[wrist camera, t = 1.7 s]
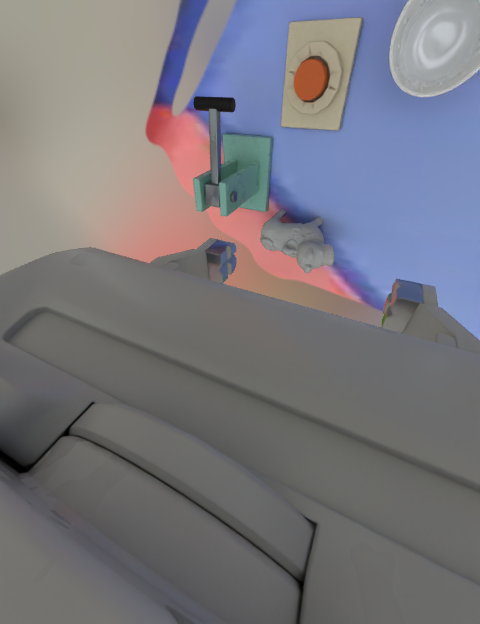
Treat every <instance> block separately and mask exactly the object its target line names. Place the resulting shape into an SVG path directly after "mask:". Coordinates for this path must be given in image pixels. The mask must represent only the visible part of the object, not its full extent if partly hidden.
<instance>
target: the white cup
mask: <svg viewBox="0 0 480 624" xmlns="http://www.w3.org/2000/svg"><path fill="white" fill-rule="evenodd" d="M389 64H390V70H391V73H392V76H393V79H394V81H395V82H396V84H397V85H398V86H399V87H400V88H401V89H402V90H403V91H404V92H406V93H408V94H410V95H412V96H416V97H432V96H437V95H440V94H443V93H446V92H448V91H450V90H452V89H454V88H456V87H458V86H459V85H461V84H462V83H464V82H465V81H466V80H468V79H469V78H470V77H472V76H473V75H474V74H475V73H476V72H477V71H478V70H479V69H480V0H408V2H407V4H406V5H405V7H404V9H403V10H402V12H401V14H400V16H399V18H398V21H397V23H396V26H395V28H394V31H393V35H392V39H391V43H390V51H389Z"/></svg>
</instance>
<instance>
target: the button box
mask: <svg viewBox="0 0 480 624" xmlns="http://www.w3.org/2000/svg"><path fill="white" fill-rule="evenodd" d="M362 23H363V18H362V17H358V18H343V19H328V20H313V21H298V22H290V23H289V34H288V46H287V58H286V70H285V82H284V94H283V106H282V118H281V127H292V128H307V129H322V130H337V131H338V130H339V129H340V127H341V123H342V118H343V113H344V108H345V104H346V99H347V94H348V89H349V85H350V80H351V75H352V70H353V66H354V61H355V56H356V51H357V47H358V42H359V37H360V32H361V28H362ZM309 59H317V60H320V61H322V62H323V63H324V64H325V66H326V68H327V72H328V80H327V84H326V87H325V89H324V91H323V92H322V93H321V95H319V96H318V97H317V98H315V99H312V100H302V99H300V98H299V97H298V96H297V94H296V92H295V89H294V77H295V73H296V71H297V69H298V67H299V66H300V65H301V64H302V63H303V62H304V61H306V60H309Z"/></svg>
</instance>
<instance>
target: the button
mask: <svg viewBox="0 0 480 624" xmlns="http://www.w3.org/2000/svg"><path fill="white" fill-rule="evenodd" d="M327 80H328V72H327V68H326V66H325V64H324V63H323V62H322V61H320V60H317V59H309V60H306V61H304V62H303V63H302V64H301V65H300V66H299V67H298V69H297V71H296V73H295V77H294V89H295V92H296V94H297V96H298V97H299V98H300V99H302V100H312V99H315V98H317V97H318V96H319V95H321V93H322V92H323V91H324V89H325V87H326V84H327Z"/></svg>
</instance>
